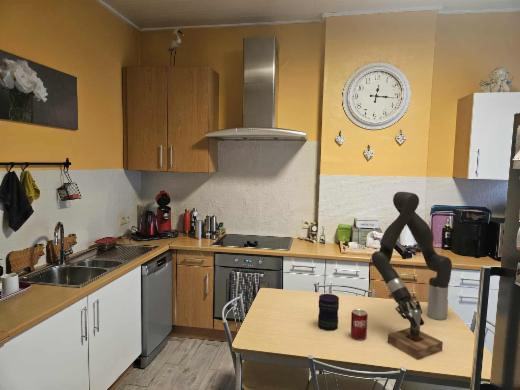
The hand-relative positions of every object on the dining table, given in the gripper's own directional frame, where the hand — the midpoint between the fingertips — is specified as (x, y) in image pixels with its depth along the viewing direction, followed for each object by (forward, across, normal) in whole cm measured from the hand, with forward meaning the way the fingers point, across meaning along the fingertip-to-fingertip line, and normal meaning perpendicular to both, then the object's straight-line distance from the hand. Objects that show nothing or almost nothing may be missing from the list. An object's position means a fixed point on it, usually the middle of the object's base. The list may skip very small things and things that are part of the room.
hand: (419, 325), depth 158 cm
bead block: (+6, 0, +9) cm, 11 cm away
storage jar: (-17, -22, +32) cm, 43 cm away
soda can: (-6, -16, +22) cm, 28 cm away
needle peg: (+2, 0, +5) cm, 5 cm away
